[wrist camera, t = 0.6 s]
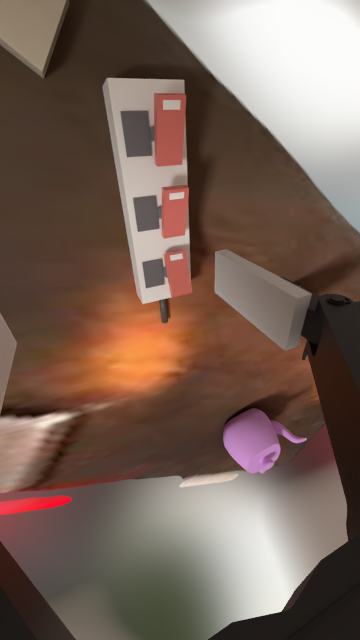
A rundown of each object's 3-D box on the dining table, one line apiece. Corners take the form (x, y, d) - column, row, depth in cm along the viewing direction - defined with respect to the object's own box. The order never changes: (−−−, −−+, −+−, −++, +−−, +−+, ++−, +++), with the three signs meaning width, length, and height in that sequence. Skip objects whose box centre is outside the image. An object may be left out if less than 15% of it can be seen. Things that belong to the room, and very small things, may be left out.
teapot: (223, 452, 90) (247, 496, 78) (215, 421, 77) (243, 468, 65) (275, 423, 94) (306, 460, 82) (276, 389, 81) (312, 427, 69)
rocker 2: (161, 235, 37) (163, 239, 36) (161, 187, 32) (164, 190, 31) (182, 231, 38) (185, 235, 37) (186, 184, 33) (189, 188, 32)
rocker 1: (154, 163, 32) (157, 166, 31) (153, 92, 27) (157, 95, 26) (179, 161, 33) (182, 165, 32) (183, 93, 28) (186, 95, 27)
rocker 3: (170, 296, 40) (173, 297, 39) (163, 253, 38) (165, 253, 37) (190, 291, 41) (192, 292, 40) (183, 250, 39) (186, 249, 38)
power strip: (142, 325, 49) (149, 340, 45) (102, 86, 30) (108, 74, 26) (184, 314, 52) (194, 327, 48) (172, 88, 32) (187, 77, 28)
